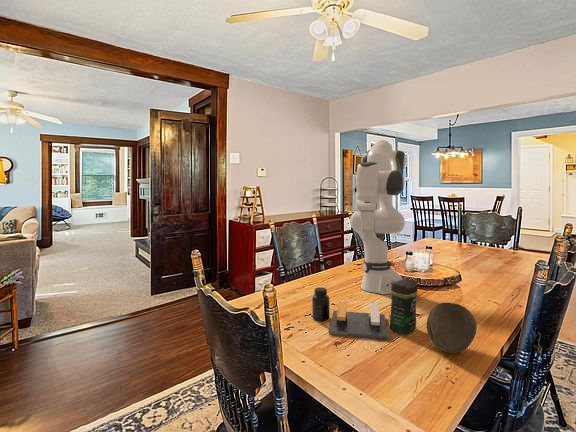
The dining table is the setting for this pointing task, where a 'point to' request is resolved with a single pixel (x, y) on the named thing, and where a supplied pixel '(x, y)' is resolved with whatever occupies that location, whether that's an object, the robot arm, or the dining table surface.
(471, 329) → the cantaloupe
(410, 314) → the coffee jar
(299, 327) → the dining table surface
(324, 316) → the supplement bottle
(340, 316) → the paddle
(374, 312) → the paddle
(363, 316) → the panel
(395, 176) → the robot arm
